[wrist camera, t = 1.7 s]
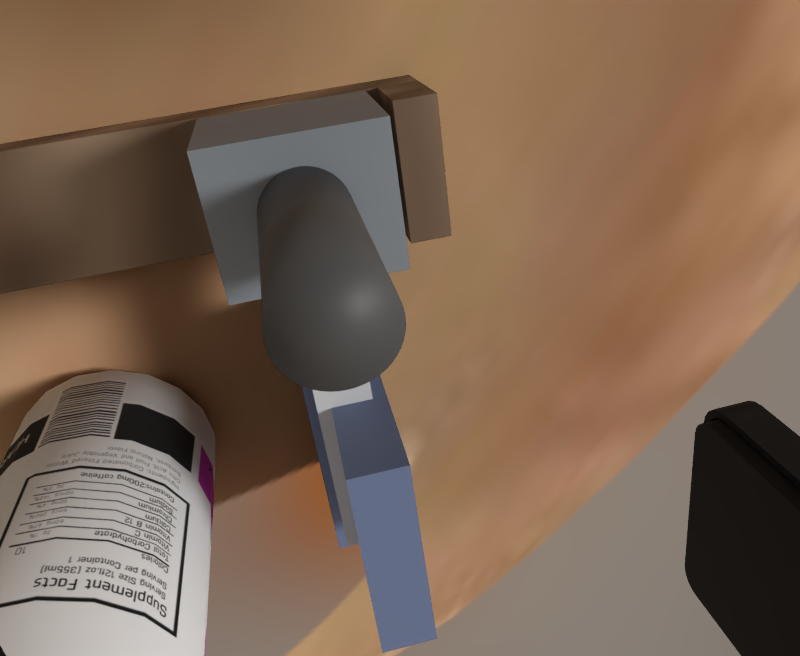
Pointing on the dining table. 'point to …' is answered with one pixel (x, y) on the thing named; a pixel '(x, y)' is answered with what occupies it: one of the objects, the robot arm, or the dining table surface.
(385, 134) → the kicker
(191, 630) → the supplement can
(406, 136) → the rail
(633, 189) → the dining table surface
